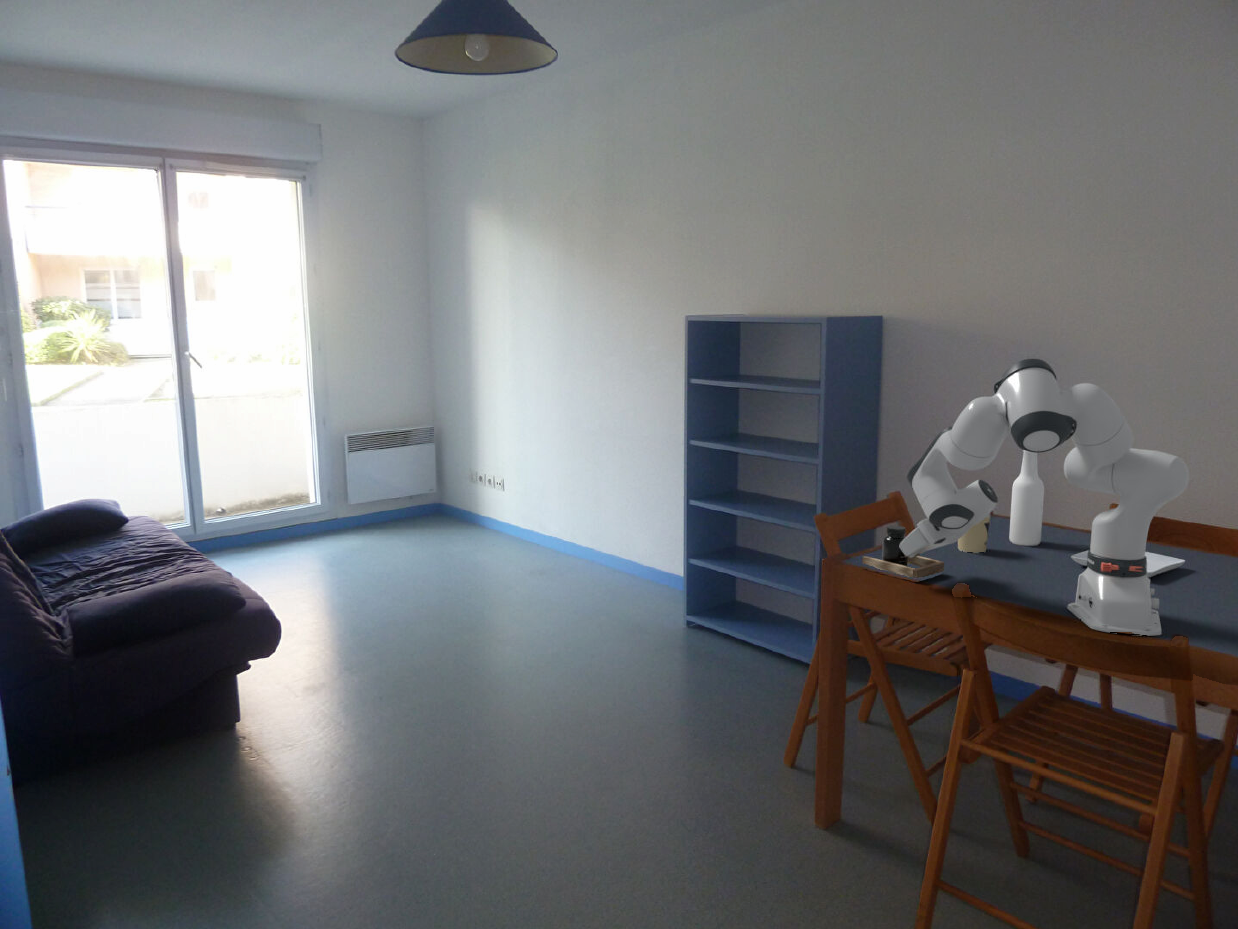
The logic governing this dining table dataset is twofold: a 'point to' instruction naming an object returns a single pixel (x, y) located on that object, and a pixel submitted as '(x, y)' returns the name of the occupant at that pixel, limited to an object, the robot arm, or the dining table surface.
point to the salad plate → (1154, 562)
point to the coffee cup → (975, 537)
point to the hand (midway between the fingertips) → (911, 555)
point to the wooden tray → (924, 570)
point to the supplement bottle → (894, 546)
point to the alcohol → (1027, 504)
